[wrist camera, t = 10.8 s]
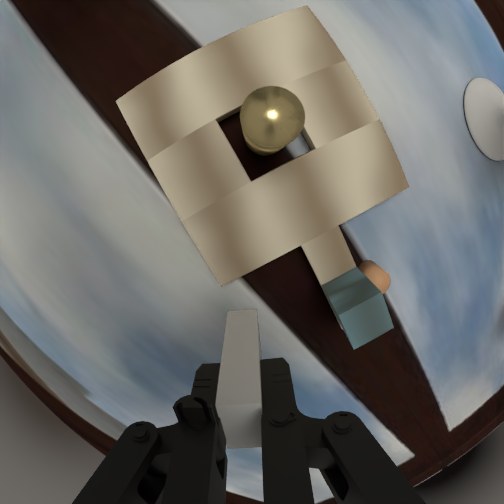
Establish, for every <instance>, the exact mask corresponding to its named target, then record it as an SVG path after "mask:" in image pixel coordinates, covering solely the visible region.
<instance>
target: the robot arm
mask: <svg viewBox="0 0 504 504" xmlns="http://www.w3.org/2000/svg"><path fill="white" fill-rule="evenodd" d="M173 409H174V412H175V414H176V417H177V419H178V421H179V422H178V423H176V424H174V425H170V426H166V427H161V428H156V427H155V426H154V424H152V423H150V422H144V421H141V422H135V423H133V424H131V425H130V426H129V427H127V428H126V429H125V431H124V432H123V434H122V435H121V436H120V438H119V439H118V441H117V442H116V443H115V445H114V446H113V447H112V449H111V450H110V452H109V453H108V454H107V456H106V457H105V459H104V460H103V461H102V463H101V464H100V465H99V467H98V468H97V470H96V471H95V472H94V474H93V475H92V477H91V478H90V479H89V481H88V482H87V483H86V485H85V486H84V488H83V489H82V490H81V492H80V493H79V494H78V496H77V497H76V499H75V500H74V501H73V503H72V504H225V496H226V477H227V455H226V452H225V451H226V444H227V448H253V447H262V466H263V493H264V504H314V498H313V491H312V485H311V479H310V473H309V468H318V469H319V470H320V472H321V474H322V476H323V477H324V479H325V481H326V483H327V485H328V486H329V488H330V490H331V492H332V494H333V495H334V497H335V499H336V501H337V502H338V504H426V503H425V502H424V501H423V499H422V498H421V497H420V495H419V494H418V493H417V492H416V490H415V489H414V488H413V487H412V485H411V484H410V483H409V482H408V480H407V479H406V478H405V476H404V475H403V474H402V473H401V471H400V470H399V469H398V467H397V466H396V465H395V464H394V462H393V461H392V460H391V458H390V457H389V456H388V455H387V453H386V452H385V451H384V449H383V448H382V447H381V446H380V444H379V443H378V442H377V440H376V439H375V438H374V436H373V435H372V434H371V433H370V431H369V430H368V429H367V427H366V426H365V425H364V423H363V422H362V421H361V419H360V418H359V417H358V416H356V415H355V414H353V413H350V412H345V411H340V412H335V413H332V414H331V415H329V416H327V418H326V419H317V418H311V417H308V416H305V415H303V414H302V413H301V412H300V411H299V410H298V409H297V406H296V401H295V395H294V390H293V384H292V379H291V374H290V368H289V364H288V363H287V362H286V361H285V359H284V358H274V359H263V360H262V359H261V346H260V336H259V327H258V317H257V309H252V310H241V311H228V312H227V319H226V327H225V334H224V341H223V349H222V356H221V363H212V364H202V365H201V366H200V367H199V369H198V370H197V371H196V374H195V379H194V383H193V388H192V392H191V395H187V396H184V397H182V398H180V399H179V400H178V401H176V402H175V404H174V406H173Z"/></svg>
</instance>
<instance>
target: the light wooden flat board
mask: <svg viewBox="0 0 504 504" xmlns="http://www.w3.org/2000/svg"><path fill="white" fill-rule="evenodd" d="M265 86H278V87H282V88H285V89H287V90H289V91H291V92H292V93H293V94H295V95H296V96H297V97H298V99H299V100H300V101H301V103H302V105H303V107H304V111H305V123H304V127H303V129H302V131H301V132H302V134H303V136H304V138H305V139H306V141H307V143H308V145H309V147H310V149H311V151H309V152H307V153H305V154H303V155H301V156H299V157H297V158H295V159H293V160H291V161H289V162H287V163H285V164H283V165H281V166H279V167H277V168H275V169H273V170H271V171H269V172H268V173H266V174H264V175H262V176H260V177H258V178H256V179H254V180H253V181H251V180H250V179H249V177H248V175H247V173H246V171H245V170H244V168H243V166H242V164H241V162H240V161H239V159H238V157H237V155H236V154H235V152H234V150H233V148H232V147H231V145H230V143H229V141H228V140H227V138H226V136H225V134H224V133H223V131H222V129H221V127H220V126H219V124H218V122H220V121H222V120H224V119H226V118H228V117H229V116H231V115H233V114H235V113H237V112H239V111H241V107H242V104H243V102H244V100H245V99H246V97H247V96H248V95H249V94H250V93H252V92H253V91H254V90H256V89H258V88H261V87H265ZM116 103H117V105H118V107H119V109H120V111H121V113H122V115H123V116H124V118H125V120H126V122H127V124H128V126H129V128H130V130H131V132H132V134H133V136H134V137H135V139H136V141H137V143H138V145H139V147H140V149H141V150H142V152H143V154H144V156H145V158H146V160H147V161H148V163H149V165H150V167H151V169H152V170H153V172H154V174H155V176H156V178H157V179H158V181H159V183H160V185H161V187H162V188H163V190H164V192H165V194H166V195H167V197H168V199H169V201H170V202H171V204H172V206H173V208H174V209H175V211H176V213H177V214H178V216H179V218H180V220H181V221H182V223H183V225H184V226H185V228H186V230H187V232H188V233H189V235H190V237H191V238H192V240H193V242H194V243H195V245H196V247H197V248H198V250H199V252H200V253H201V255H202V257H203V258H204V260H205V261H206V263H207V265H208V266H209V268H210V270H211V271H212V273H213V274H214V276H215V278H216V279H217V281H218V283H219V284H220V286H223V285H225V284H227V283H229V282H231V281H233V280H235V279H237V278H239V277H241V276H243V275H245V274H247V273H249V272H251V271H253V270H255V269H257V268H258V267H260V266H262V265H264V264H266V263H268V262H270V261H272V260H274V259H276V258H278V257H280V256H282V255H283V254H285V253H287V252H289V251H291V250H293V249H295V248H297V247H299V246H301V247H302V249H303V251H304V253H305V255H306V257H307V259H308V261H309V263H310V265H311V267H312V269H313V271H314V273H315V275H316V277H317V279H318V281H319V283H320V285H321V287H322V289H323V291H324V293H325V296H326V298H327V300H328V302H329V304H330V306H331V308H332V310H333V312H334V314H335V317H336V319H337V321H338V323H339V325H340V326H341V328H342V329H343V330H344V332H345V334H346V336H347V337H348V339H349V341H350V343H351V345H352V347H353V349H356V348H358V347H360V346H362V345H364V344H365V343H367V342H369V341H371V340H373V339H374V338H376V337H378V336H380V335H382V334H383V333H385V332H387V331H389V330H390V329H392V328H394V327H393V324H392V321H391V318H390V315H389V312H388V309H387V306H386V303H385V300H384V297H383V294H382V292H381V291H380V290H379V289H378V288H377V287H376V286H375V285H374V284H373V283H372V282H371V281H370V280H369V279H368V278H367V277H366V276H365V275H364V274H363V273H362V272H361V271H360V270H359V269H358V268H357V267H356V265H355V262H354V260H353V258H352V255H351V253H350V251H349V248H348V246H347V244H346V242H345V239H344V237H343V235H342V233H341V230H340V228H339V226H338V225H340V224H342V223H344V222H346V221H348V220H349V219H351V218H353V217H355V216H357V215H359V214H361V213H362V212H364V211H366V210H368V209H370V208H372V207H374V206H375V205H377V204H379V203H381V202H383V201H385V200H386V199H388V198H390V197H392V196H394V195H396V194H397V193H399V192H401V191H403V190H405V189H406V188H408V187H409V185H408V182H407V180H406V177H405V175H404V172H403V170H402V167H401V165H400V162H399V160H398V158H397V155H396V153H395V151H394V149H393V146H392V144H391V142H390V140H389V138H388V135H387V133H386V131H385V129H384V127H383V125H382V123H381V121H380V119H379V117H378V115H377V113H376V111H375V109H374V107H373V105H372V104H371V102H370V100H369V98H368V96H367V94H366V93H365V91H364V89H363V87H362V86H361V84H360V82H359V80H358V79H357V77H356V75H355V74H354V72H353V70H352V69H351V67H350V65H349V64H348V62H347V61H346V59H345V58H344V56H343V54H342V53H341V51H340V50H339V48H338V47H337V45H336V44H335V42H334V41H333V39H332V38H331V37H330V35H329V34H328V32H327V31H326V30H325V28H324V27H323V25H322V24H321V23H320V21H319V20H318V19H317V17H316V16H315V15H314V13H313V12H312V11H311V10H310V8H309V7H308V6H303V7H300V8H297V9H294V10H291V11H287V12H284V13H281V14H279V15H276V16H273V17H270V18H267V19H265V20H262V21H260V22H257V23H254V24H252V25H249V26H247V27H245V28H242V29H240V30H238V31H235V32H233V33H231V34H229V35H226V36H224V37H222V38H220V39H218V40H216V41H214V42H212V43H210V44H208V45H206V46H204V47H202V48H200V49H198V50H196V51H194V52H192V53H190V54H189V55H187V56H185V57H183V58H181V59H180V60H178V61H176V62H174V63H173V64H171V65H169V66H168V67H166V68H164V69H163V70H161V71H159V72H158V73H156V74H155V75H153V76H151V77H150V78H148V79H147V80H145V81H144V82H142V83H141V84H139V85H138V86H136V87H135V88H133V89H132V90H130V91H129V92H128V93H126V94H125V95H123V96H122V97H121V98H119V99H118V100H117V101H116Z"/></svg>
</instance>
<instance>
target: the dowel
mask: <svg viewBox="0 0 504 504" xmlns="http://www.w3.org/2000/svg"><path fill="white" fill-rule="evenodd" d="M357 268H358V269H359V270H360V271H361V272H362V273H363V274H364V275H365V276H366V277H367V278H368V279H369V280H370V281H371V282H372V283H373V284H374V285H375V286H376V287H377V288H378V289H379V290H380V291H381V292H382V294H383V293H385V292H386V291H387V290H388V288H389V286H390V281H391V280H390V276H389V274H388V273H387V272H385V271H384V270H383V269H382V268H381V267H379V266H378V265H377V264H376V263H374V262H373V261H370V260H366V261H363V262H362V263H361V264H360V265H359V266H358V267H357Z"/></svg>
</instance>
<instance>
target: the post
mask: <svg viewBox="0 0 504 504" xmlns="http://www.w3.org/2000/svg"><path fill="white" fill-rule="evenodd" d="M240 120H241V125H242V130H243V135H244V140H245V143H246V145H247V147H248V148H249V149H250V150H251V151H252V152H254V153H256V154H258V155H263V156H267V155H272V154H274V153H276V152H278V151H279V150H280V149H282V148H283V147H285V146H286V145H287V144H289V143H290V142H292V141H293V140H294V139H296V138H297V137H298V135H299V134H300V133H301V131H302V129H303V127H304V123H305V111H304V107H303V105H302V103H301V101H300V100H299V99H298V97H297V96H296V95H295V94H293V93H292V92H291V91H289V90H287V89H285V88H282V87H278V86H265V87H261V88H258V89H256V90H254V91H253V92H252V93H250V94H249V95H248V96H247V97H246V99H245V100H244V102H243V104H242V107H241V111H240Z"/></svg>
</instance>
